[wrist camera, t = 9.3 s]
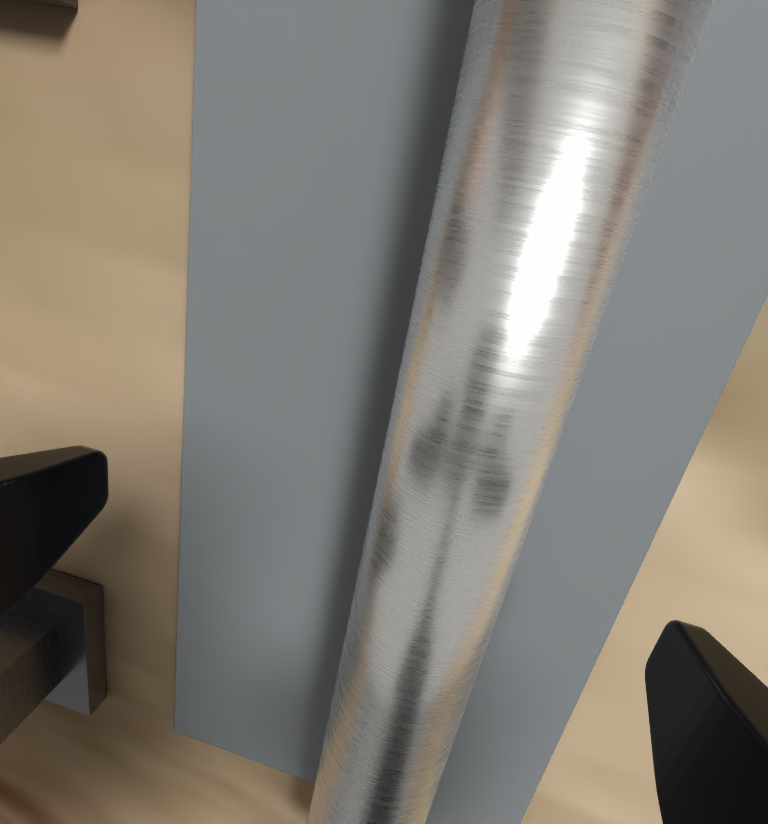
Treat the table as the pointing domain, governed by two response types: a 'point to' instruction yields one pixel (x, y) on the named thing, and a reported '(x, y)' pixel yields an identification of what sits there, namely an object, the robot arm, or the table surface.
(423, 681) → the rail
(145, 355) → the table surface
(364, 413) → the grey plate
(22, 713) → the dark grey notched cradle
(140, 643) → the table surface
